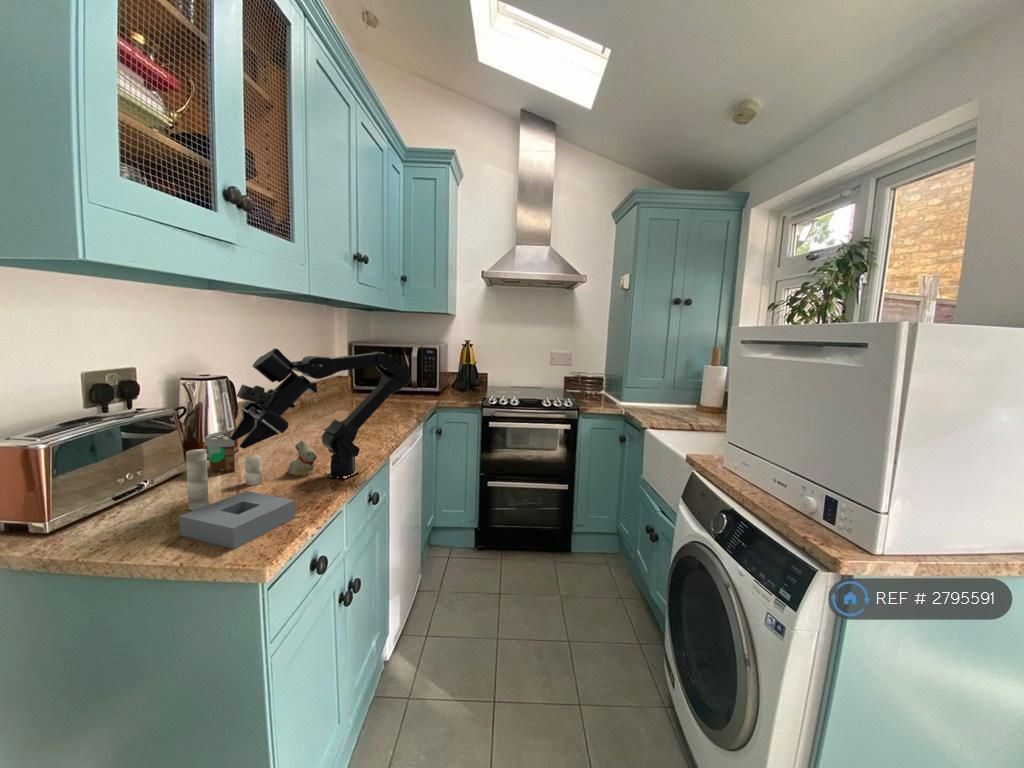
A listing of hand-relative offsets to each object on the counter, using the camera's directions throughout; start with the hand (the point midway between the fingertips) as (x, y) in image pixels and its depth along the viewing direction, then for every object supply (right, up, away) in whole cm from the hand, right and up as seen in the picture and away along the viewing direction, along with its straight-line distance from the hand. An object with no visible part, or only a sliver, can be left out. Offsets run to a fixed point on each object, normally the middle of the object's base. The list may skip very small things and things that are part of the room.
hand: (236, 443), depth 94 cm
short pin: (-3, -12, +11) cm, 17 cm away
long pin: (-6, -14, -4) cm, 16 cm away
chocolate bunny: (+5, -12, +20) cm, 24 cm away
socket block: (+9, -15, -12) cm, 22 cm away
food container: (-19, -11, +20) cm, 30 cm away
